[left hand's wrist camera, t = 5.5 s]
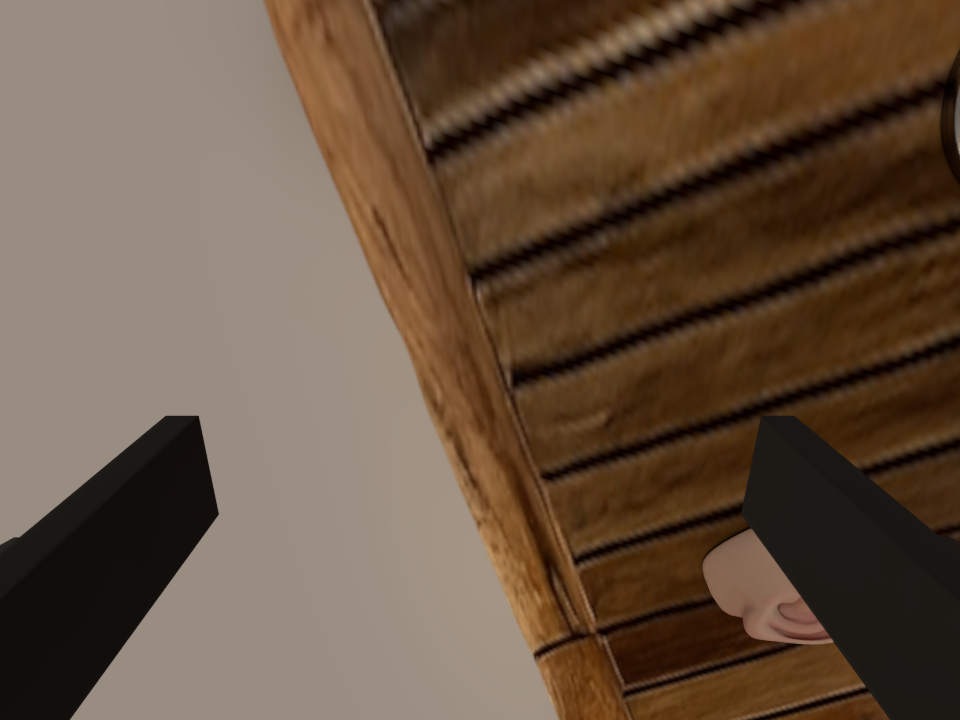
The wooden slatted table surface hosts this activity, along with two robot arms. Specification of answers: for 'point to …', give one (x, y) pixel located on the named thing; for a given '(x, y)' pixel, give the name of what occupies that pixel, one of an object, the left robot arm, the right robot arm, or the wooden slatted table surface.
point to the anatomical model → (759, 592)
